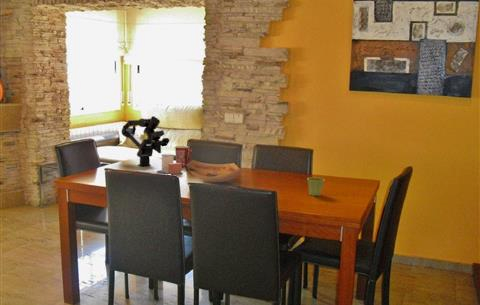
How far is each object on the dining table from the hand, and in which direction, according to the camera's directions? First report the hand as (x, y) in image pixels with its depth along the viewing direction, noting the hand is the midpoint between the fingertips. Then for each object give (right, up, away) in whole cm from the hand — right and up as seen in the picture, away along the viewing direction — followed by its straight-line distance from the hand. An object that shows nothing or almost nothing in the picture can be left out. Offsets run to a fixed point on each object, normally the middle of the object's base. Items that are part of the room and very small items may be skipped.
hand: (160, 153), depth 314 cm
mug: (+13, -10, +17) cm, 23 cm away
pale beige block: (+5, -11, -5) cm, 13 cm away
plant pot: (+91, -23, -51) cm, 107 cm away
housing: (+7, -13, -7) cm, 16 cm away
